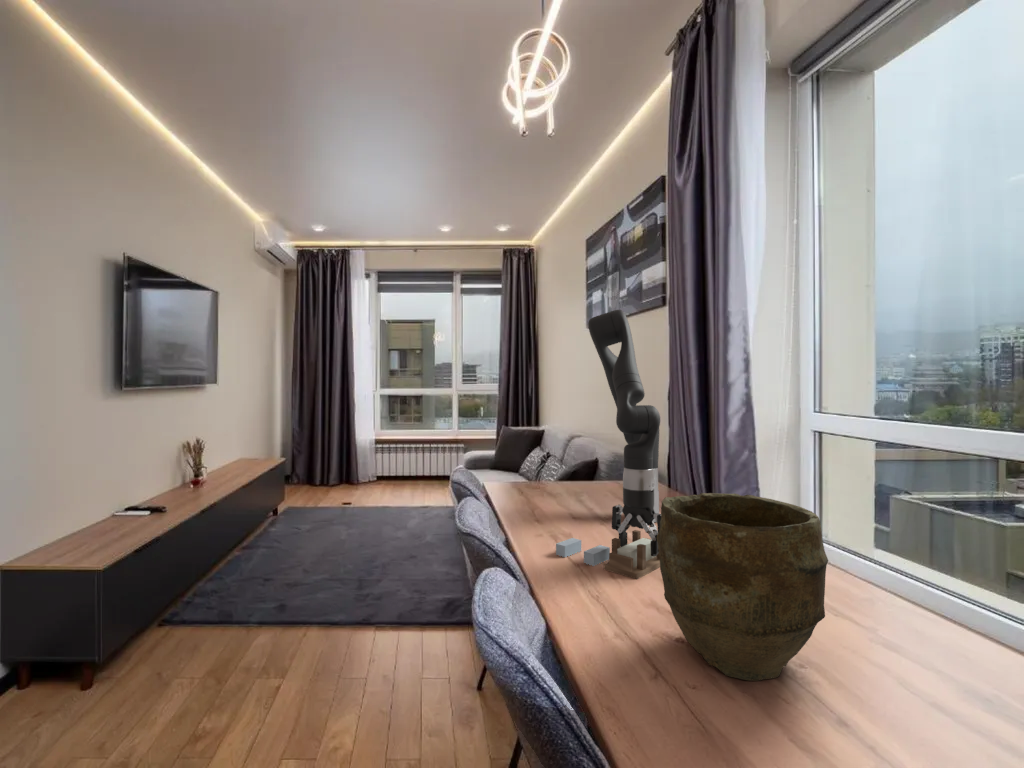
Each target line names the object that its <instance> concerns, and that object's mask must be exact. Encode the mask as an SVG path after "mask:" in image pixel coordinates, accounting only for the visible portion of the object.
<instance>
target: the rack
mask: <svg viewBox="0 0 1024 768" xmlns="http://www.w3.org/2000/svg"><path fill="white" fill-rule="evenodd" d="M631 535H632V539H631V541H632V542H634V541H637V540H639V539H641V538H642V537H641V530H638V529H634V530H632V533H631ZM645 538H646V539H649V538H647V537H645ZM650 539H651V538H650ZM651 540H652V539H651ZM632 542H631V543H632ZM618 548H620V539H619V537H613V538H611V551H610V553H609V560H608V562H606V563H604V564H603V570H604V569H605V571H608V572H612V573H614V572H615V574H618V575H622V576H625V577H628V578H632V579H635V580H638V579H640V578H642V577H645V575H647V574H649V573H651V572H653V571H655V570H657V569H659V568H660V556H659V553H658V555H657V556H656V557H654V558H652V559H650V560H648V561H646V545H643V544H639V545H637V566H635V567H633V558H630V557H627V556H623V555H619V554H617V549H618Z"/></svg>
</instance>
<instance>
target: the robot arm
mask: <svg viewBox="0 0 1024 768" xmlns="http://www.w3.org/2000/svg"><path fill="white" fill-rule="evenodd" d="M587 325H588V326H587V327H588V331H589V335H590V337H591V340H592V343H593V344H594V347H595V350H596V353H597V354H598V356H599V359H600V362H601V364H602V368H603V370H604V374H605V377H606V379H607V380H606V381H607V383H608V387H609V389H610V392H611V396H612V398H613V401H614V404H615V406H616V418H615V419H616V421H615V423H616V426H617V428H618V430H619V431H620V432H622V434H623V436H624V440H625V442H626V445H625V446H624V447H623V473H622V503H623V506H622V505H621V504H616V505H613V506H612V508H611V510H612V511H611V512H612V513H611V529H612V530H615V531H617V533H618V539H620V547H623V546H625V545H627V544H628V532H627V531H628V529H630V527H632V528H638V529H641V530H644V532H645V533H647V534H648V536H649V539H652V541H651V556H654V557H655V556H657V555H658V553H659V549H658V543H657V534H658V532H659V530H660V521H661V513H660V490H659V456H660V455H659V454H660V453H659V449H660V447H659V446H660V426H661V414H660V412H659V410H658V408H657V407H656V406H654V405H649V404H648V405H647V404H646V405H645V404H643V405H641V404H640V405H638V404H639V403H640V402H642V401H643V400H644V398H645V394H646V393H645V389H644V385H643V383H642V379H641V376H640V373H639V370H638V365H637V360H636V352H635V347H634V346H635V345H634V341H633V337H632V331H631V326H630V323H629V321H628V318H627V315H626V313H625V312H624V311H623V310H622V309H615V310H611V311H609V312H608V311H607V312H605V313H601V314H599V315H596V316H593V317H590V319H589V320H588V323H587ZM620 343H621V347H620V350H619V354H618V356H617V355H616V354H614V352H612V350H611V349H610V348H609V346H613V345H616V344H620ZM622 515H623V516H624V519H623V521H622ZM655 523H656V524H657V526H656V524H655Z"/></svg>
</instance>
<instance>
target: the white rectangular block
mask: <svg viewBox="0 0 1024 768" xmlns="http://www.w3.org/2000/svg"><path fill="white" fill-rule="evenodd" d="M646 538H647V537H645V538H644V537H641V539H639V540H637V541H634V542H630V543H627V545H625V546H623V547H620V548H618V549H617V554H619V555H623V556H627V557H630V558H633V567H635V566H637V545H639V544H643V545H646V561H648V560H650V559H652V558H654V556H651V541H652V540H651V538H648V539H646ZM655 557H656V556H655Z"/></svg>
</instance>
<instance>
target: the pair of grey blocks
mask: <svg viewBox="0 0 1024 768" xmlns="http://www.w3.org/2000/svg"><path fill="white" fill-rule="evenodd" d="M610 549H611V548H610V547H609V546H606V545H602V544H599V545H597V546H594V547H592V548H589V549H586V550H584V551H583V564H584V563H586V564H585V565H588V564H589V565H588V566H591V565H592V566H591V567H595V565H596V566H598V565H600V564H602V563H604V561H605V562H607V561H609V553H611V550H610ZM580 551H581V552H582V539H579V538H575V537H571V538H568V539H565V540H563V541H560V542H557V543H556V542H555V555H556V556H557V555H559V556H558V557H561V556H562V557H561V558H564V557H566V558H568V557H571V556H573V555H576V554H578V553H581V552H580ZM577 552H578V553H577ZM575 553H576V554H575ZM572 554H573V555H572ZM570 555H571V556H570ZM567 556H568V557H567ZM606 560H607V561H606ZM601 562H602V563H601ZM599 563H600V564H599ZM597 564H598V565H597Z"/></svg>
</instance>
